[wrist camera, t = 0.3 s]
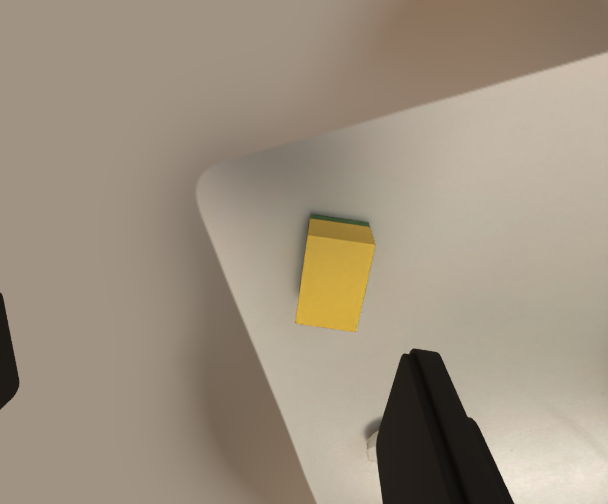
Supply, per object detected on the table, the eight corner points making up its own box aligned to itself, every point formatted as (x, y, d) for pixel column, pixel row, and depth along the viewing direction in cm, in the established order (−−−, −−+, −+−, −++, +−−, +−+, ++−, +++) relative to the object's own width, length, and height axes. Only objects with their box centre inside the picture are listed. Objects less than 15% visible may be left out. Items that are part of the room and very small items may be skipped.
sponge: (310, 214, 28) (307, 235, 24) (369, 222, 28) (375, 244, 24) (299, 292, 31) (294, 323, 27) (352, 300, 31) (356, 332, 27)
